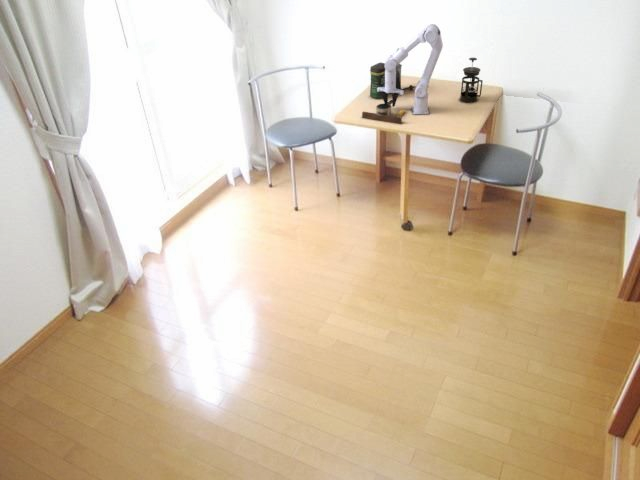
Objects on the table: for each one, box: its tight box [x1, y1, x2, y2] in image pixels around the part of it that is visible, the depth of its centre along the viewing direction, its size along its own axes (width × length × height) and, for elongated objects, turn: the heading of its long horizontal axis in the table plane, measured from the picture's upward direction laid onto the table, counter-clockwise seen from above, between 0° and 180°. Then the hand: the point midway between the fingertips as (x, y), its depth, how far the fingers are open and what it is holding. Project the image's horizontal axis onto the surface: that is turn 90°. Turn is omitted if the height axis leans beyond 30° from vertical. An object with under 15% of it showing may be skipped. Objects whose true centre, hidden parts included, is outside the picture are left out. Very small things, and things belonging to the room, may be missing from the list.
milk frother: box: [396, 63, 417, 91], centre depth 299 cm, size 14×16×15 cm
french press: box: [459, 57, 484, 104], centre depth 279 cm, size 12×9×23 cm
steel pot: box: [375, 99, 393, 116], centre depth 277 cm, size 15×8×6 cm, turn 150°
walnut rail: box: [361, 111, 403, 125], centre depth 272 cm, size 22×2×3 cm, turn 61°
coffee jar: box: [369, 62, 385, 99], centre depth 294 cm, size 10×8×19 cm
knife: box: [395, 109, 405, 118], centre depth 274 cm, size 12×2×1 cm, turn 150°
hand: (390, 105), depth 280 cm, fingers open, 4 cm apart
